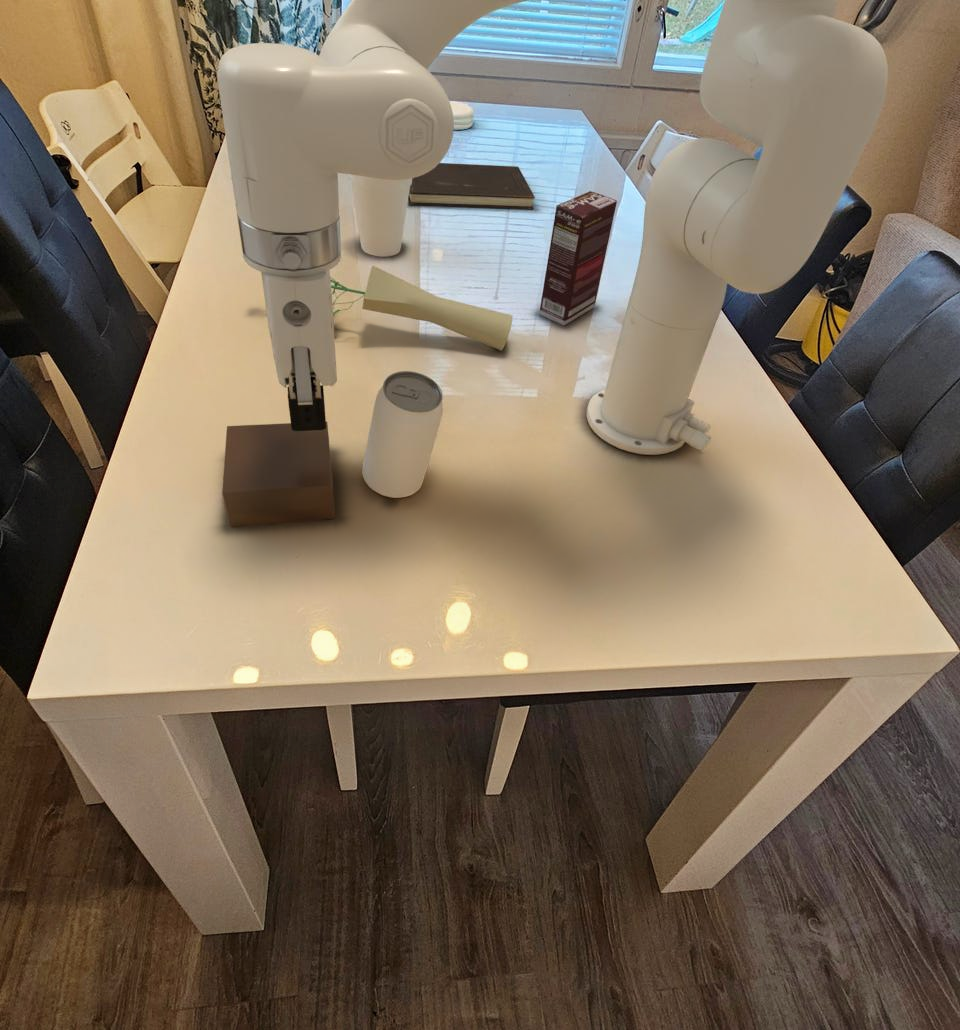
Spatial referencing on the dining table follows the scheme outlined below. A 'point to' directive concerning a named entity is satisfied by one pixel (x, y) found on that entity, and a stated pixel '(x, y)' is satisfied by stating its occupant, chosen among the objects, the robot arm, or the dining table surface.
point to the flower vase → (431, 308)
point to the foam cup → (380, 213)
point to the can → (402, 434)
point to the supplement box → (576, 256)
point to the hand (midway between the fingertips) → (308, 425)
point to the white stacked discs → (462, 115)
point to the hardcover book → (472, 187)
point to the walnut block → (277, 475)
